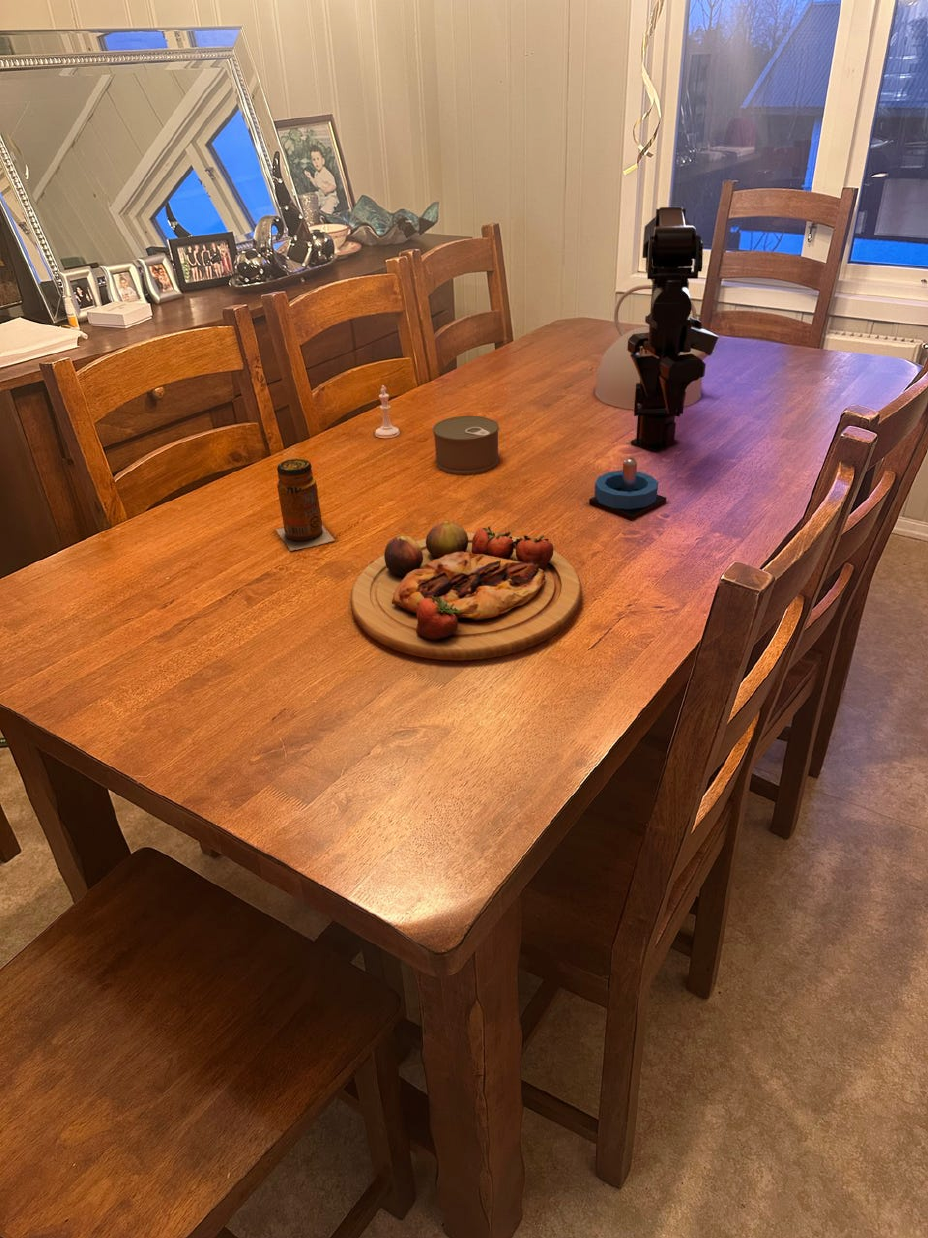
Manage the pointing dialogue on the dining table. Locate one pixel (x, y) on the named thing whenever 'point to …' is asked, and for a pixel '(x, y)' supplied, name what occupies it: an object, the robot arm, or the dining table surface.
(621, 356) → the kettle
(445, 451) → the can
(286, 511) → the condiment
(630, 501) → the blue ring
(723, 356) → the dining table surface
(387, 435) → the chess piece
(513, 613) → the wooden plate
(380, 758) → the dining table surface
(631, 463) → the peg stand
